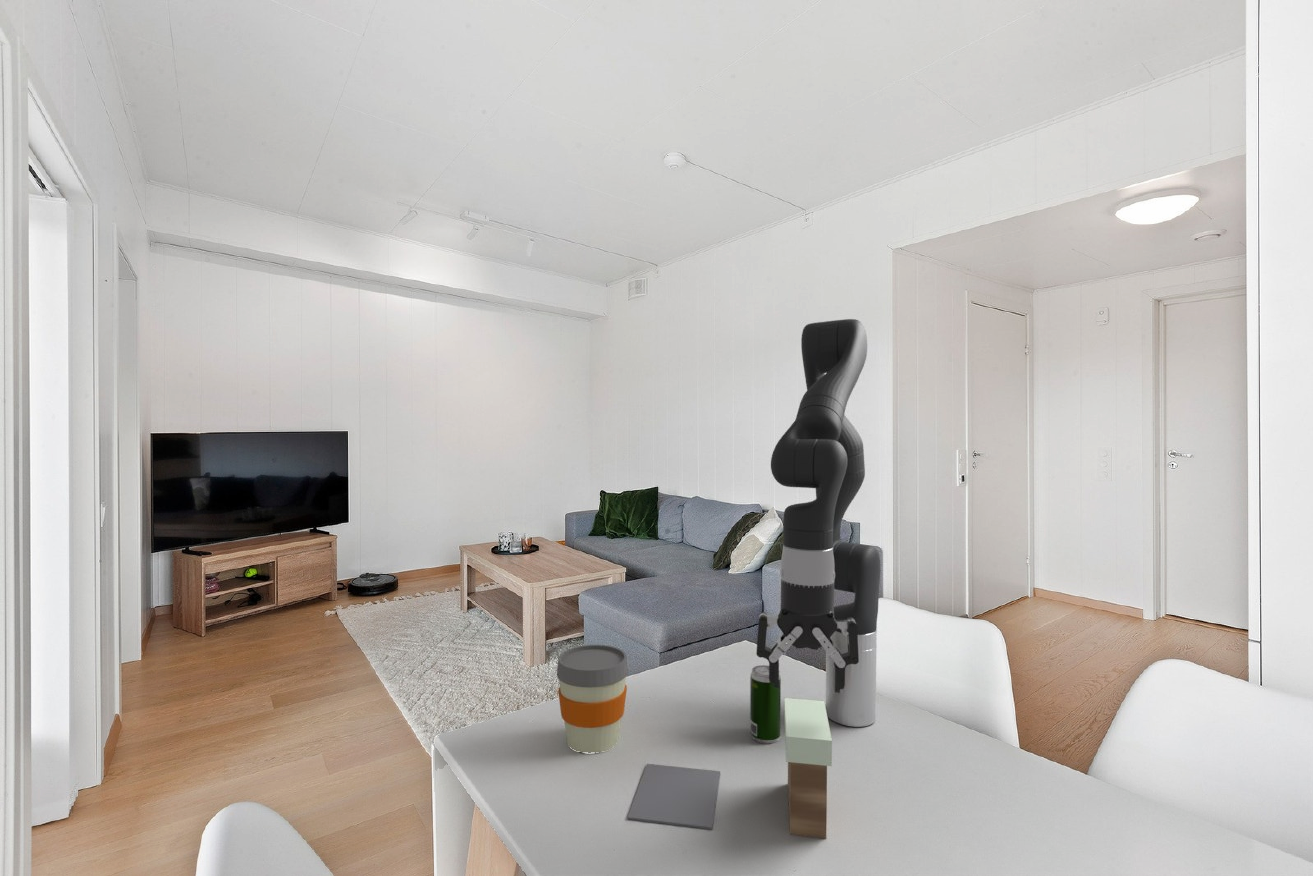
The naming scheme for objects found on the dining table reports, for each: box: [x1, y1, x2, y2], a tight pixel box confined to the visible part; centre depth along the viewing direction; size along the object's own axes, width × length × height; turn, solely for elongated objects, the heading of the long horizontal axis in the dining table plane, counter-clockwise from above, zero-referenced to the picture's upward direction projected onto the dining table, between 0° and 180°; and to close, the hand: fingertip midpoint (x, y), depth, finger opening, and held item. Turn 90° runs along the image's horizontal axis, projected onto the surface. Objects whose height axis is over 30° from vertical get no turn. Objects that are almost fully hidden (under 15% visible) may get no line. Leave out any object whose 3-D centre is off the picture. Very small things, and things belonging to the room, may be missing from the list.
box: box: [787, 762, 828, 839], centre depth 90 cm, size 12×5×10 cm, turn 170°
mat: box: [627, 763, 721, 830], centre depth 94 cm, size 14×12×1 cm
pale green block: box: [783, 697, 833, 767], centre depth 90 cm, size 12×6×4 cm, turn 170°
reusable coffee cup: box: [556, 644, 629, 753], centre depth 109 cm, size 13×12×15 cm
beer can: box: [749, 664, 782, 745], centre depth 111 cm, size 5×5×12 cm
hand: (805, 688), depth 90 cm, fingers open, 8 cm apart
